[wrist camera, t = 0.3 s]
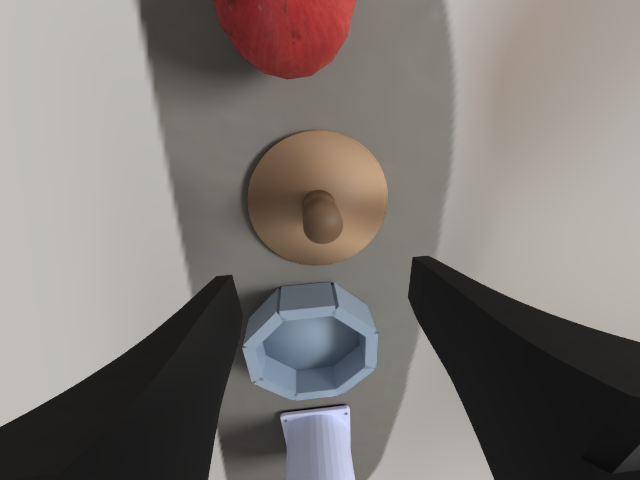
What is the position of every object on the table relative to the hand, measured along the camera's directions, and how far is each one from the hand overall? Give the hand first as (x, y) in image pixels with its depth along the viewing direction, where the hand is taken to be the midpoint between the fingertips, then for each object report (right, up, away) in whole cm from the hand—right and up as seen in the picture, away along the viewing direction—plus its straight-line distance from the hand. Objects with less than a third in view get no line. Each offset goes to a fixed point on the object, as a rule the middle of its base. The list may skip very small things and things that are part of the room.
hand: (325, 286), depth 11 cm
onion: (-2, +14, +4) cm, 14 cm away
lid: (0, +5, +9) cm, 10 cm away
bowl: (-1, -7, +14) cm, 16 cm away
